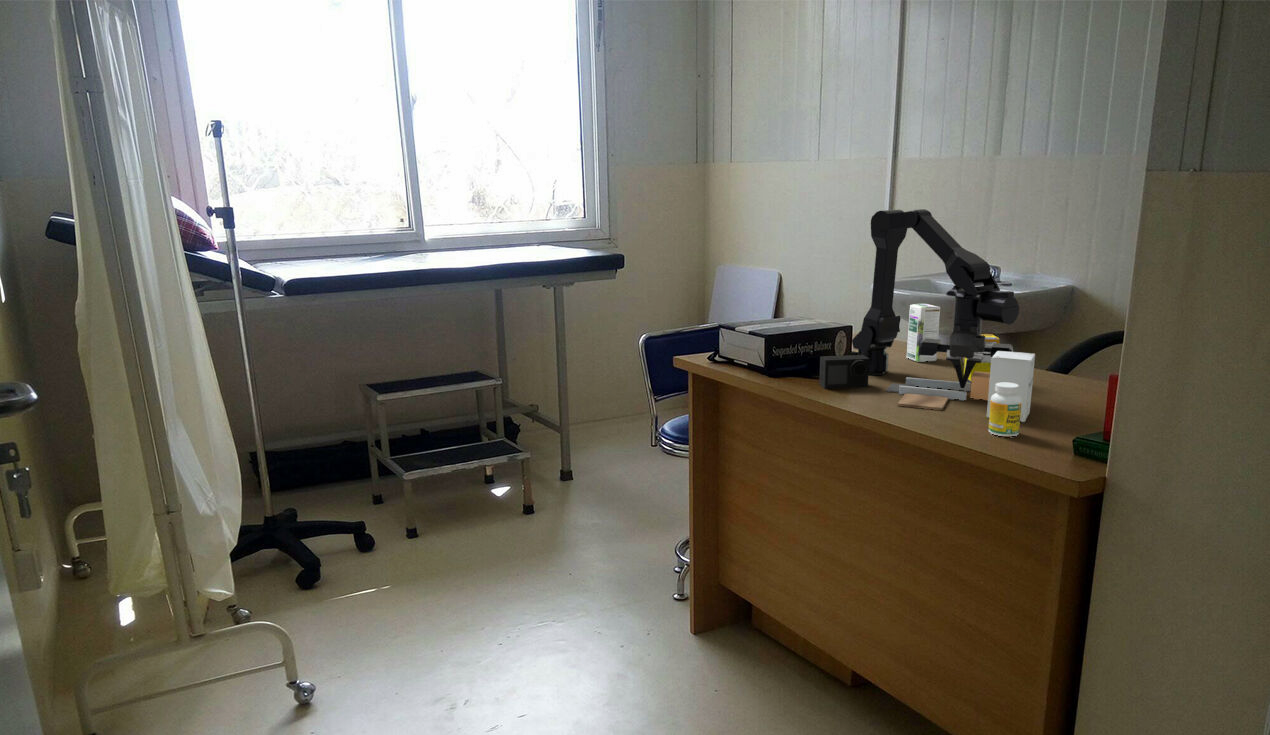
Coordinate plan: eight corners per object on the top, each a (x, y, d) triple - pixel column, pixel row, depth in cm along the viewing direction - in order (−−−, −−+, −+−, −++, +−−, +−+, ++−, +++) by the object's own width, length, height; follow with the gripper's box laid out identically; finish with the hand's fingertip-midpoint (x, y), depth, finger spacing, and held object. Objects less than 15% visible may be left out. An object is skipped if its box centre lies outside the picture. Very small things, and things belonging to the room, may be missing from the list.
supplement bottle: (1000, 427, 159) (1004, 379, 157) (1025, 435, 155) (1029, 385, 152) (981, 432, 157) (985, 383, 154) (1006, 440, 152) (1010, 389, 150)
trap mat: (886, 391, 187) (886, 390, 187) (892, 384, 193) (892, 383, 193) (908, 393, 184) (909, 392, 184) (914, 386, 191) (914, 385, 190)
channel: (898, 394, 184) (899, 386, 184) (906, 384, 192) (906, 377, 192) (965, 400, 178) (966, 392, 178) (970, 390, 186) (970, 382, 186)
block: (970, 398, 180) (971, 376, 178) (972, 393, 184) (974, 371, 183) (995, 401, 177) (996, 378, 176) (997, 395, 182) (999, 373, 180)
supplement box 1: (988, 378, 196) (992, 333, 194) (996, 385, 190) (1000, 338, 188) (962, 378, 197) (965, 333, 194) (970, 384, 191) (973, 338, 189)
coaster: (897, 406, 175) (897, 403, 175) (905, 395, 183) (905, 393, 183) (942, 410, 171) (942, 407, 171) (947, 400, 179) (948, 397, 179)
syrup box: (905, 358, 219) (908, 304, 216) (925, 356, 221) (928, 302, 217) (917, 362, 214) (920, 307, 211) (937, 361, 215) (941, 306, 212)
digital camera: (825, 390, 189) (826, 361, 187) (818, 384, 194) (819, 356, 193) (870, 388, 190) (871, 359, 188) (861, 383, 195) (863, 354, 194)
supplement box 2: (1025, 423, 162) (1031, 360, 159) (985, 418, 166) (990, 356, 163) (1030, 413, 168) (1036, 353, 165) (991, 408, 172) (996, 349, 169)
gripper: (916, 321, 176) (912, 392, 179) (1012, 327, 167) (1005, 401, 171) (924, 313, 186) (920, 380, 189) (1015, 318, 177) (1009, 388, 181)
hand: (962, 387), depth 182 cm, fingers closed
